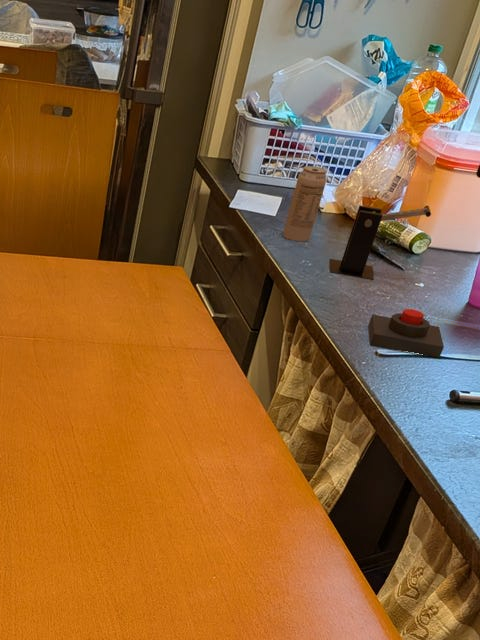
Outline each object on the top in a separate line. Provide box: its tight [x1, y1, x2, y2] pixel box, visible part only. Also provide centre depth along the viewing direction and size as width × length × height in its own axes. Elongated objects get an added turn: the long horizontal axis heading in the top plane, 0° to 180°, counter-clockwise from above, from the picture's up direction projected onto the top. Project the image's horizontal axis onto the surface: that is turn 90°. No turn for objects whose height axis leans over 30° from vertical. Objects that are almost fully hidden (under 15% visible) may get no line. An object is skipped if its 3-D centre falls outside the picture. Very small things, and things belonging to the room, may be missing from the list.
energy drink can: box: [282, 165, 328, 243], centre depth 204 cm, size 6×6×15 cm
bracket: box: [328, 204, 383, 281], centre depth 191 cm, size 9×9×13 cm
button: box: [400, 308, 425, 325], centre depth 165 cm, size 4×4×2 cm
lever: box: [371, 205, 432, 222], centre depth 186 cm, size 13×5×2 cm, turn 74°
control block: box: [367, 312, 445, 359], centre depth 167 cm, size 12×10×4 cm
